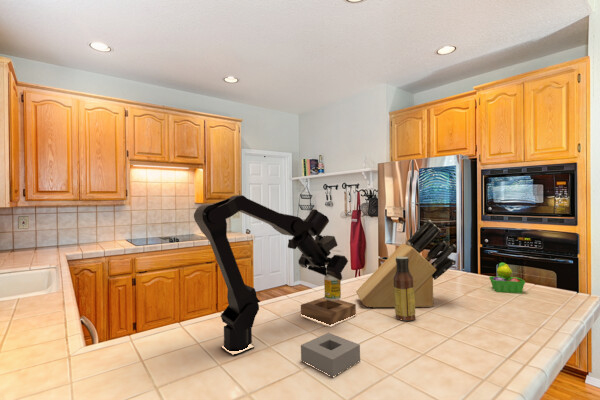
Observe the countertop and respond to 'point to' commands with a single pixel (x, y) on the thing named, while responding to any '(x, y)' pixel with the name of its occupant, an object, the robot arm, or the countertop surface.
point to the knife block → (382, 280)
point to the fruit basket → (506, 281)
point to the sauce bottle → (404, 290)
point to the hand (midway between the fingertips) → (335, 277)
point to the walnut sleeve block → (328, 310)
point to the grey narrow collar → (330, 353)
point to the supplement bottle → (332, 288)
